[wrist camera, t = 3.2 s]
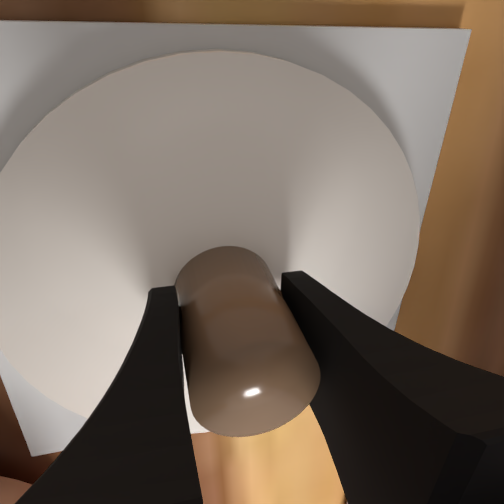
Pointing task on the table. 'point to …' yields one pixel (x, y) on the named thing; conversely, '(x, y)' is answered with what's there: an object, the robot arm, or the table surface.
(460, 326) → the table surface
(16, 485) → the bowl
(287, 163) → the lid
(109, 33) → the mat
